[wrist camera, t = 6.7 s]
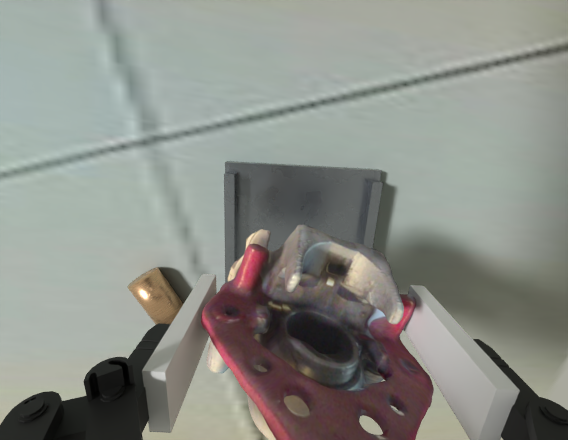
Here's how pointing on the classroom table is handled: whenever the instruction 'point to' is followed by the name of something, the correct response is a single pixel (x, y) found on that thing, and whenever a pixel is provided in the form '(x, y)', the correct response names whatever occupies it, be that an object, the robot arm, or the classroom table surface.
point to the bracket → (297, 203)
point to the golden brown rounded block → (156, 296)
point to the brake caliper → (318, 340)
